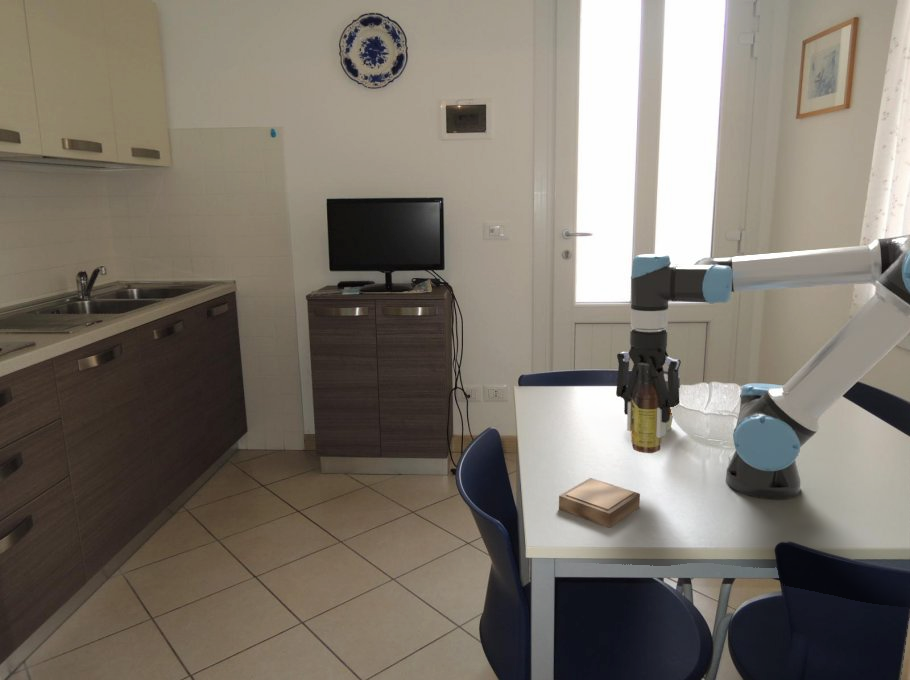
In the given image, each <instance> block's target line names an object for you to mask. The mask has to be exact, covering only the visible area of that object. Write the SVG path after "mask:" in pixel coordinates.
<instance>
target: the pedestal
mask: <svg viewBox="0 0 910 680" xmlns="http://www.w3.org/2000/svg"><path fill="white" fill-rule="evenodd" d="M640 497H641V493H639V492H636V491H632V490H630V489H626V488H624V487H622V486H618V485H614V484H611V483H608V482H605V481H602V480H599V479H596V478H593V477H589V478H587V479H586V480H584V481H582V482H581V483H579V484H577V485H575V486H573V487H572V488H570V489H568V490H567V491H565V492H562V493H561V494H559V496H558V509H559V510H560V511H564V512H567V513H569V514H571V515H575V516H576V517H580V518H582V519H585V520H587V521H590V522H592V523H593V522H594V523H595V524H599V525H601V526H604V527H606V528H609V529H610V528H611V527H613V526H614V525H615V524H616V523H618V522H620V521H621V520H623V519H624V518H625V517H627V516H629V515H631V514H632V512H634V511H636V510H637V509H638V508H640V504H641V503H640V500H641V499H640Z"/></svg>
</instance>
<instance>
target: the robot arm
mask: <svg viewBox="0 0 910 680" xmlns="http://www.w3.org/2000/svg"><path fill="white" fill-rule="evenodd" d="M631 269H632V270H631V276H630V280H631V281H630V283H631V285H630V289H631V291H630V293H631V294H630V295H631V297H630V301H631V302H630V303H631V304H630V323H629V325H630V327H631V330H630V331H629V333H630V337H629V338H630V339H629V344H630V349H629V350H628V351H622V352H619V353H617V355H616V357H617V362H618V369H617V370H618V371H617V381H616V392H615V393H616V394H615V395H616V396H617V397H619V398H621V399H623V401H624V402H623V403H624V405H623V406H624V407H623V409H624V411H623V412H624V415H627V424H626V426H627V427H626V431H627V432H628V431H629V432H632V395H633V392H634V390H635V387H636V385H637V382H638V380H637V379H638V368H637V364H638V363H641V362H644V363H647V364H648V365H651V371H650V373H651V376H652V378H653V379H654V383H655V387H656V390H657V394H658V398H659V401H660V405H661V406H660V407H658V408H657V430H656V437H658V438H660V437H661V438H662V437H664V436H665V435H666V432H667V431H666V423H667V422H668V421H669V420H670V407H674V406H676V405H677V406H678V405H679V404H680V403H681V402H680V388H679V376H680V374H679V369H680V366H681V362H682V361H681V359H679V358H676V359H675V358H673V357H670V356H669V354H668V352H667V347H668V330H667V329H666V328H667V327H668V324H669V321H668V320H669V317H668V316H669V302H682V303H683V302H684V303H685V302H686V303H687V302H688V303H705V304H706V303H707V304H709V305H710V304H712V305H713V304H717V303H718V304H720V303H722V304H723V303H724V304H725V303H729V301H730V300H731V298H732V293H735V292H747V291H748V292H749V291H750V292H751V291H764V290H765V291H767V290H768V291H769V290H779V289H780V290H781V289H783V290H785V289H799V288H815V287H816V288H817V287H819V288H820V287H834V286H851V285H867V284H869V285H870V284H871V285H872V286H874V287H875V291H874V295H872V296H871V298H869V300H867V301H866V303H864V304H863V306H862V307H861V308H859V309H858V311H857V312H855V314H854V315H852V317H851V318H850V319H849V320H847V322H846V323H845V324H844V325H843V326H842V327H840V329H839V330H837V331H836V332H835V334H834V335H833V336H832V337H831V338H829V340H827V341H826V343H825V344H823V346H822V347H820V349H819V350H817V352H816V353H815V354H813V356H811V358H809V360H808V361H806V363H804V364H803V366H801V368H799V370H798V371H797V372H795V374H794V375H793V376H792V377H791V378H790V379H789V380H788V381H787V382H786V383H784V385H780V384H772V383H756V382H755V383H746V384H744V385H743V386H742V387H741V392H740V395H739V398H740V404H739V413H738V415H737V416H738V417H737V420H736V424H735V425H736V426H735V428H734V429H733V435H732V437H733V444H734V448H735V450H734V453H733V456H732V457H731V460H730V461H729V464H728V466H727V467H726V472H725V481H726V483H727V484H728V486H730V487H731V488H732V489H733V490H735V491H737V492H739V493H742V494H745V495H748V496H752V497H756V498H762V499H766V500H767V499H769V500H785V499H791V498H794V497H795V496H797V495H799V493H800V492H801V491H800V490H801V478H800V473H799V469H798V466H797V463H796V460H797V457H799V454H800V451H801V448H802V446H804V445H805V444H806V443H807V442H808V441H809V440H810V439H812V437H813V436H814V435H815V434H816V433H817V432H818V431H819V430H820V417H822V416H823V415H824V414H825V413H826V412H827V411H828V410H829V409H830V408H831V407H832V406H833V405H834V404H835V403H836V402H838V400H840V399H841V397H843V396H844V395H845V394H846V393H847V392H848V391H849V390H850V389H851V388H852V387H853V386H854V385H856V383H858V382H859V381H860V380H861V378H863V377H864V376H865V375H866V374H867V373H868V372H869V371H870V370H872V369H873V367H874V366H876V364H878V363H879V362H880V361H881V360H883V358H884V357H885V356H886V355H887V354H888V353H889V352H890V351H891V350H892V349H894V348H895V347H896V346H897V345H898V344H899V343H900V342H901V341H902V340H903V339H904V338H906V337H907V336H908V334H909V333H910V234H907V235H901V236H895V237H885V238H877V239H874V241H873V242H871V243H870V244H868V245H867V244H866V245H856V246H842V247H830V248H819V249H809V250H799V251H786V252H785V251H784V252H783V251H782V252H773V253H762V254H751V255H749V254H748V255H738V256H733V257H731V256H730V257H718V258H717V257H714V256H712V257H704V258H701V259H699V260H698V261H696V262H695V263H694V264H673V263H672V262H671V259H670V256H669V255H668V254H662V253H661V254H658V253H646V254H645V253H644V254H638V255H635V257H634V258H633V259H632V266H631ZM630 361H632V364H633V365H632V369H631V375H630V377H629V370H630ZM665 364H666V369H667V371H668V389H667V385H666V382H665V378H664V371H665V370H664V367H663V366H664V365H665Z"/></svg>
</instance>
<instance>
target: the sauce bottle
mask: <svg viewBox="0 0 910 680" xmlns="http://www.w3.org/2000/svg"><path fill="white" fill-rule="evenodd" d="M637 368H638V379H637V380H638V382H637V385H636V387H635V390H634V392H633V395H632V430H631V437H630V438H631V440H630V442H631V443H632V444H631V446H632V449H633V450H634V451H636V452H639V453H643V454H653V453H656V452H659V451H660V450H661V443H662V437H660V438H658V437H656V430H657V408H658V407H660V406H661V405H660V401H659V398H658V394H657V390H656V387H655V383H654V379H653V378H652V376H651V373H650V371H651V365H648V364H647V363H644V362H641V363H638V364H637Z"/></svg>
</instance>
